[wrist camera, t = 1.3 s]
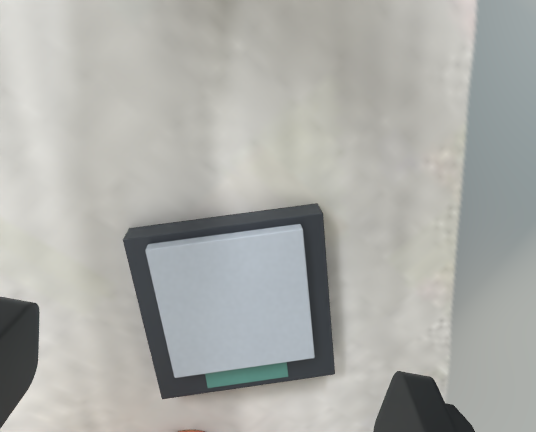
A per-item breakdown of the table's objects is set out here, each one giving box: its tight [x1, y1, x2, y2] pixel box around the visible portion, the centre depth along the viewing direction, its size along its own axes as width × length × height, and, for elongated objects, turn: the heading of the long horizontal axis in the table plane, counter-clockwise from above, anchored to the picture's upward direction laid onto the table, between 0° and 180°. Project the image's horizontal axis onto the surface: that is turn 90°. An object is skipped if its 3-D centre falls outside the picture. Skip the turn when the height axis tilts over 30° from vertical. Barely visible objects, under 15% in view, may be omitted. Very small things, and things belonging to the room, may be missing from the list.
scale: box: [123, 204, 335, 399], centre depth 32 cm, size 13×13×3 cm
